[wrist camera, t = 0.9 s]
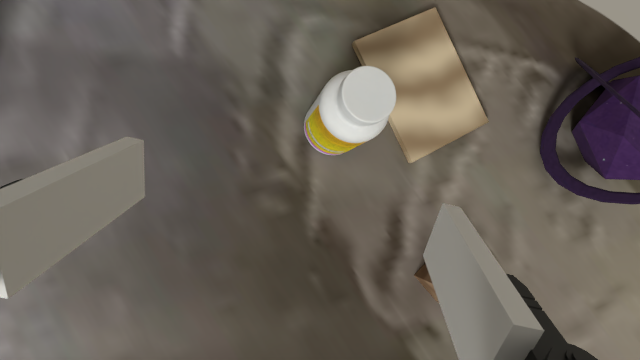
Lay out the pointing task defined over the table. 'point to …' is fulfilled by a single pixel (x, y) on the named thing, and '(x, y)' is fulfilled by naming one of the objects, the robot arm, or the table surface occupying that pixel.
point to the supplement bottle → (350, 110)
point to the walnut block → (426, 280)
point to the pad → (423, 83)
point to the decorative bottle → (601, 133)
